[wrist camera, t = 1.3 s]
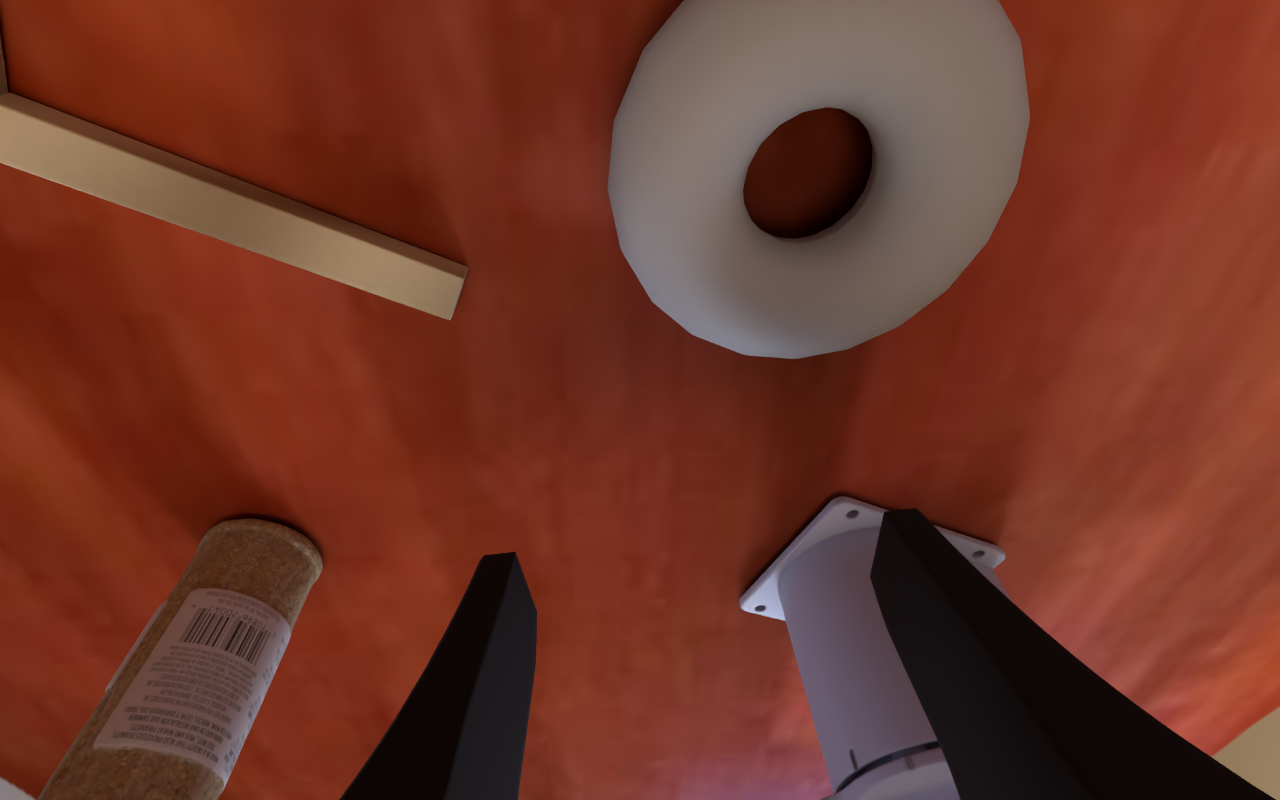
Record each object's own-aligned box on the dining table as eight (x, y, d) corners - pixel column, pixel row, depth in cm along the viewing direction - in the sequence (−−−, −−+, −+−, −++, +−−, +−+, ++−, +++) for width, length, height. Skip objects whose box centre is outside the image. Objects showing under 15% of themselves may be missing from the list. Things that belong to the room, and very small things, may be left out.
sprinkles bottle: (180, 541, 24) (-159, 1025, 13) (259, 497, 23) (-44, 991, 12) (276, 596, 26) (57, 1041, 16) (351, 559, 25) (169, 1015, 14)
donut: (617, 327, 19) (927, 314, 19) (618, 392, 16) (979, 375, 16) (593, -69, 13) (1047, -86, 13) (587, -72, 10) (1162, -94, 10)
